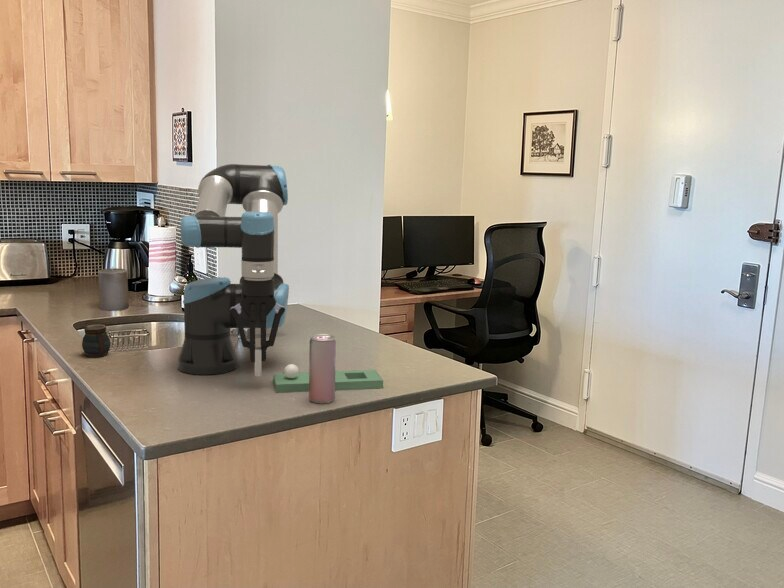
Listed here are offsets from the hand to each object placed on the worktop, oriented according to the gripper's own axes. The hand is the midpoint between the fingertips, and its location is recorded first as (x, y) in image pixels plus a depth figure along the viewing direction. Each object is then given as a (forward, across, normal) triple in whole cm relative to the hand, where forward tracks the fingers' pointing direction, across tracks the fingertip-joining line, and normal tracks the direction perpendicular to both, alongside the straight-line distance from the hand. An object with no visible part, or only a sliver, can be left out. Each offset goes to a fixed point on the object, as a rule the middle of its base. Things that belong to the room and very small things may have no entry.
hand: (258, 374), depth 169 cm
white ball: (0, +8, 0) cm, 8 cm away
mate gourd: (+3, -42, +34) cm, 54 cm away
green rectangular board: (+3, +17, 0) cm, 17 cm away
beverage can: (+4, +14, -11) cm, 18 cm away
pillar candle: (+3, -46, +97) cm, 107 cm away
